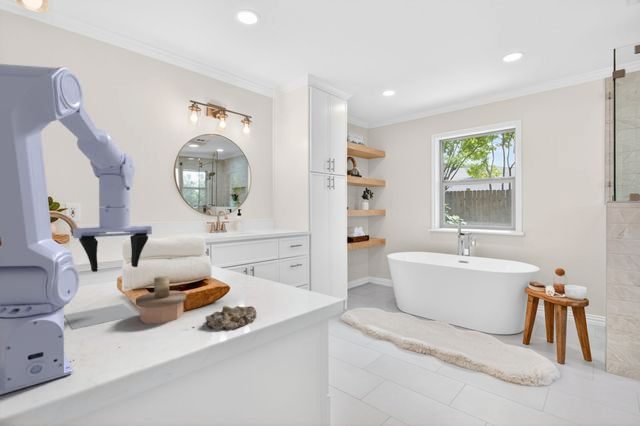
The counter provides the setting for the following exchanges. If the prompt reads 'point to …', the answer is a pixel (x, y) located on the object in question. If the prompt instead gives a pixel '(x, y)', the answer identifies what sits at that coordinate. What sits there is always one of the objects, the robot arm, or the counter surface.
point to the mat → (98, 316)
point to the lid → (161, 295)
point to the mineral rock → (231, 318)
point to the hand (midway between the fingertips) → (115, 268)
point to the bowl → (161, 313)
